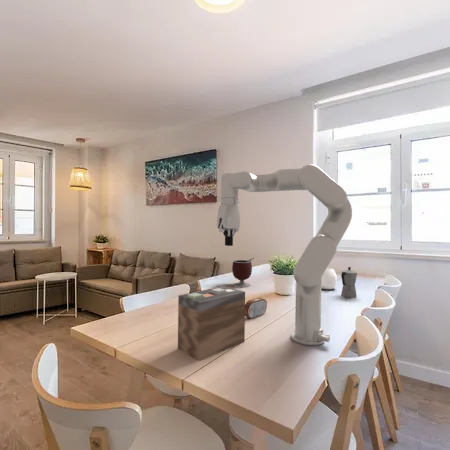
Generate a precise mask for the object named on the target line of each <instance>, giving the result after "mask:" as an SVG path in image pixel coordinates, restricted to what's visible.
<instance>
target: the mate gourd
mask: <svg viewBox="0 0 450 450" xmlns="http://www.w3.org/2000/svg"><path fill="white" fill-rule="evenodd" d="M254 259H255V257H252V258H250V259H248V260H246V259H237V260H233V261H232V265H231V266H232V268H231V271H232V275H233V276H234V278H235V279H236V280H239V282H235V283H233V284H232V286H233V287H235V288H250V287H251V284H250V283H249V282H245V280H247V279H249V278H250V277H252V276H251V275H252V274H253V273H252V271H253V266H252V264H253V263H252V261H253V260H254Z"/></svg>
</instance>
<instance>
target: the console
mask: <svg viewBox="0 0 450 450" xmlns="http://www.w3.org/2000/svg"><path fill="white" fill-rule="evenodd" d="M216 288H221V289H225V290H226V289H232V290H235V291H231V292H227V291H226V293H222V294H215V293H211V289H216ZM192 293H199V294H202V295H203V294H207V293H208V294H212V295H213V296H209V297H205V296H203V298H200V299H196V300H193V299H190V298H187V294H192ZM177 299H178V300H177V302H178V304H177V307H178V308H177V312H178V313H177V316H178V317H177V321H178V322H177V350H179V351H181V352H183V353H185V354H186V355H188V356H190V357H192V358H194V359H196V360H197V361H200V362H201V360H205V359H206V358H209V357H212V356H213V355H217V354H218V353H221V352H223V351H225V350H229V349H231V348H233V347H235V346H238V345H240V344H242V343H245V339H246V338H245V335H246V333H245V331H246V329H245V327H246V326H245V325H246V322H245V321H246V320H245V319H246V317H245V304H246V291H244V290H239V289H236V288H232V287H227V286H218V287H213V288H209V289H208V288H207V289H202V290H199V291H195V292H193V291H192V292H189V293H185V294H179V295H178V298H177Z"/></svg>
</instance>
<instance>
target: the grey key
mask: <svg viewBox="0 0 450 450" xmlns="http://www.w3.org/2000/svg"><path fill="white" fill-rule="evenodd" d="M215 288H216V289H212V288H210V289H211V293H215V294H222V293H226V290H225V289H221V288H217V287H215Z"/></svg>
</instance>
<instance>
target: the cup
mask: <svg viewBox="0 0 450 450" xmlns="http://www.w3.org/2000/svg"><path fill="white" fill-rule="evenodd" d="M337 281H338V276H337V274H336V271H335V269H333V268H331V267H327V269H326V270H325V272H324V274H323V275H322V285H321V290H322V289H323V290H333V289H335V288H336V286H337Z"/></svg>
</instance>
